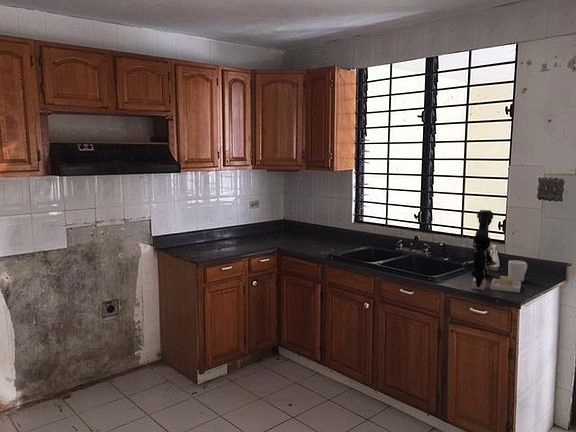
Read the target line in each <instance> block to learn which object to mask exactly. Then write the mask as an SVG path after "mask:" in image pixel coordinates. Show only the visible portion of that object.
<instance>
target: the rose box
mask: <svg viewBox="0 0 576 432" xmlns="http://www.w3.org/2000/svg"><path fill="white" fill-rule="evenodd" d="M486 280H487V279H486V278H484V279H483V281H482V283H481V285H480V287H477V284H476V279H475V277H473V279H472V281H471V282H472V284H471V285H472V286H471V288H472V289H476V290H483V291H485V288H486V282H487V281H486Z"/></svg>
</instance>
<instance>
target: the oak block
mask: <svg viewBox="0 0 576 432" xmlns="http://www.w3.org/2000/svg"><path fill="white" fill-rule="evenodd" d="M499 279H500V285H499V286H507V287H512V282H513V277H508V276H505V275H504V276H503V275H500V276H499Z"/></svg>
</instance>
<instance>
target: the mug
mask: <svg viewBox="0 0 576 432" xmlns="http://www.w3.org/2000/svg"><path fill="white" fill-rule="evenodd" d="M527 270H528V263H527V262H526V261H523V260H516V259H514V260H508V270H507V272H508V275H507V277H513V281H518V282H521V283H522V282H524V281H525V275H526V272H527Z"/></svg>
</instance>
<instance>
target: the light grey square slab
mask: <svg viewBox="0 0 576 432" xmlns="http://www.w3.org/2000/svg"><path fill="white" fill-rule="evenodd" d="M499 285H500V278H492V281H491V283H490V291H491V290H492V291H498V292H500V291H501V292H506V293H507V292H508V293H514V292H515V293H516V294H520V293H521V288H522V287H521V286H522V282H518V281H513V282H512V287H507V286H499Z"/></svg>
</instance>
